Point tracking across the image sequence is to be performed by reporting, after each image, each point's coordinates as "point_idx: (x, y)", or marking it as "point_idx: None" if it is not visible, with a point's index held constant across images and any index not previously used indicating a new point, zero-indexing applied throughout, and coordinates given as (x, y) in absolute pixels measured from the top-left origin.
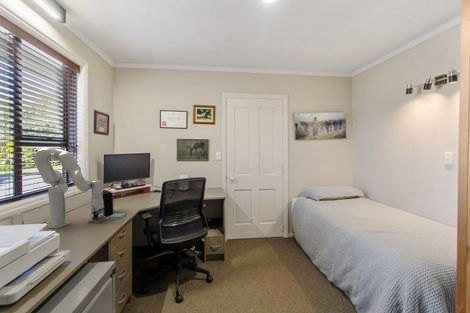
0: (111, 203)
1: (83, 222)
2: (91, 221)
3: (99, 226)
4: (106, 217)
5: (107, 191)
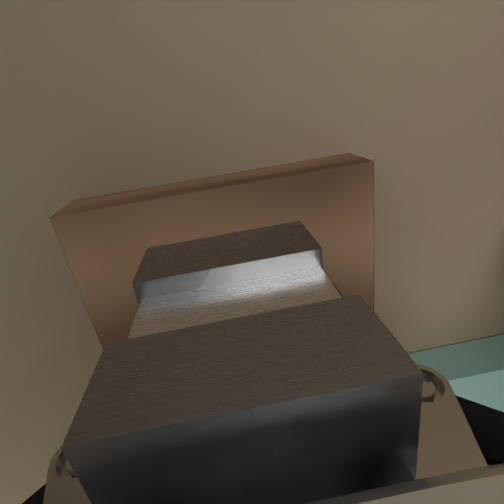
0: None
1: (78, 29)
2: (89, 293)
3: (38, 484)
4: None
5: None
